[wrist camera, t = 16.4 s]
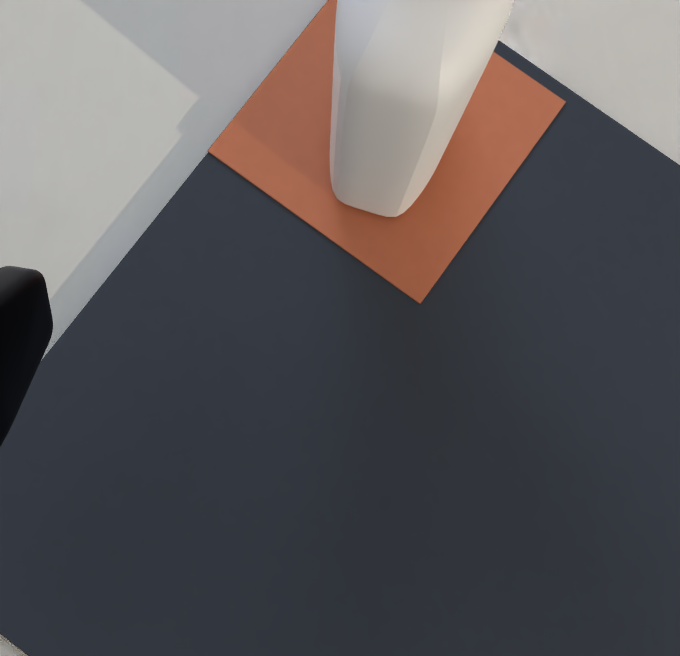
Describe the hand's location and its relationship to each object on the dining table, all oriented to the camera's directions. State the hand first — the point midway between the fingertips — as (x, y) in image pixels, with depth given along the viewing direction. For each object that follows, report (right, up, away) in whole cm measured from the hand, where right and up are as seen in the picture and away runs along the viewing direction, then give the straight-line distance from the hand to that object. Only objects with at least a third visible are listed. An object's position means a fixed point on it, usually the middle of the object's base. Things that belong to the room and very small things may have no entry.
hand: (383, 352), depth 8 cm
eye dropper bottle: (+1, +6, +11) cm, 13 cm away
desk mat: (+2, -3, +11) cm, 11 cm away
